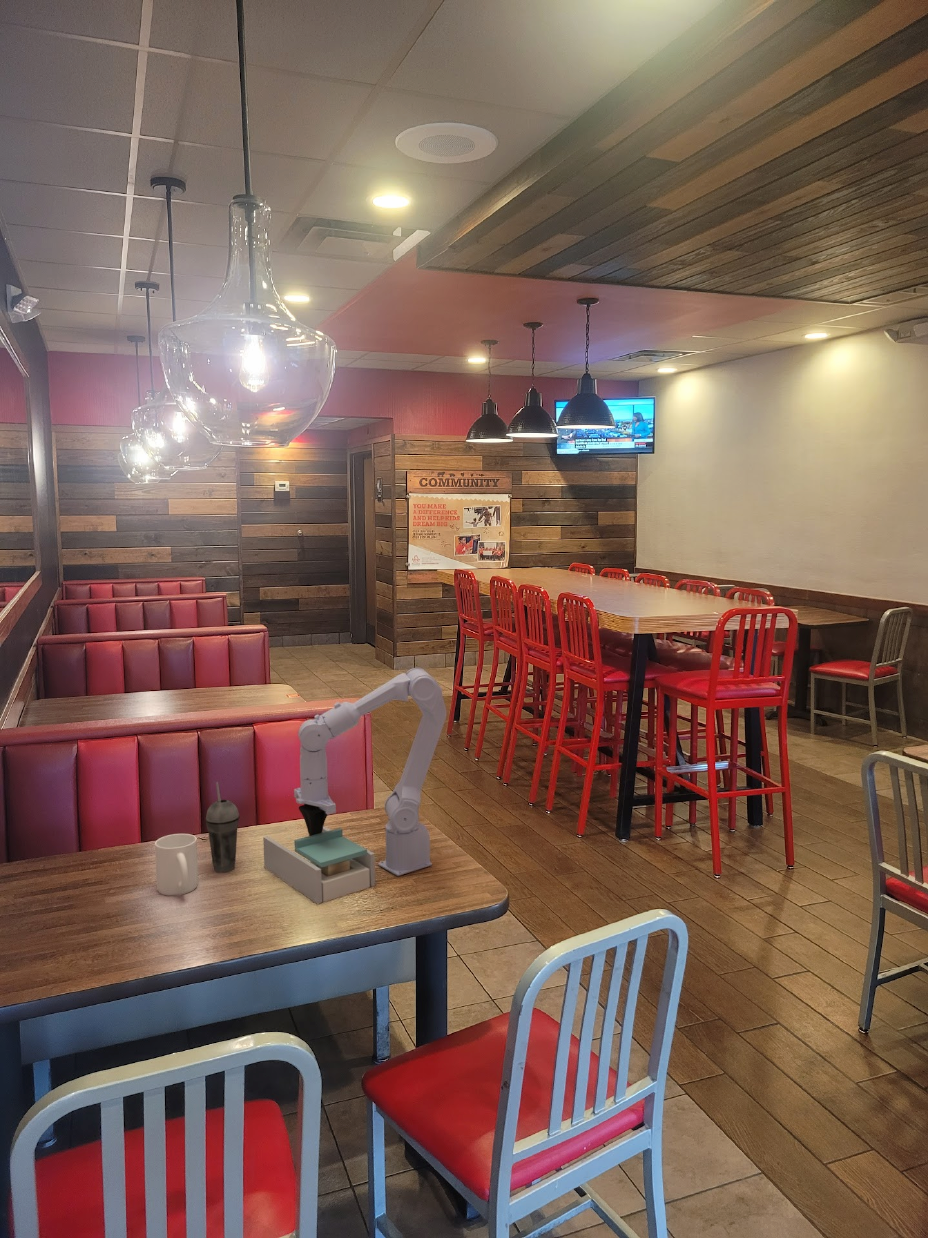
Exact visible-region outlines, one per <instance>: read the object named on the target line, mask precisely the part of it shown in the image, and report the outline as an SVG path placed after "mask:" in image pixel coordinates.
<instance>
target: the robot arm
mask: <svg viewBox="0 0 928 1238" xmlns="http://www.w3.org/2000/svg"><path fill="white" fill-rule="evenodd" d="M409 697H411V699H412V700H413V701H414V702H415V703H416V705H417V707H418V708H419V710H420V712H421V714H422V716H421V718H420V721H419V724H418V727H417V731H416V732H415V737H414V738H413V742H412V745H411V747H410V751H409V753H408V756H407V760H406V762H405V765H404V769H403V771H402V774H401V777H400V780H399V781H398V783H397V784H396V785H395V786H394V788H393V791H392V793H391V794H390V795H389V796H388V797H386V798H387V799H386V800H385V802H384V812H385V813H386V815H387V816H388V818H389V819H388V820H387V822H386V824H385V831H384V832H385V860H383V861H380V862H377V865H378V866H379V867H381V868H383V869H384V870H386V871H387V872H390V873H392V874H393V875H395V876H397V877H400V876H402V875H404V874H409V873H412V872H415V871H418V870H421V869H425V868H428V867H431V866H432V865H433V862H431V850H430V849H431V845H430V844H431V843H430V842H431V839H430V832H429V830H428V827H426V825H425V824H424V823H422V822H420V821H419V820H420V813H419V812H420V811H419V809H420V805H421V802H422V800H421V796H422V794H421V793H422V788H423V785H424V783H425V779H426V777H427V773H428V771H429V768H430V765H431V763H432V759H433V756H434V754H435V751H436V748H437V746H438V743H439V739H440V736H441V733H442V730H443V728H444V725H445V722H446V719H447V714H448V713H447V709H446V708H447V707H446V704H445V700H444V695H443V689H442V687H441V686H440V684H439V683H438V682H437V680H436V679H435V678H434V677H433V676H431V675H430V673H429V672H428V671H426V670H425V669H423V668H421V667H413V668H411V669H409V670H407V671H406V673H405V672H402V673H400V674H397V675H396V676H395V677H393V678H391V679H390V680H388V681H387V682H385V683H383V684H382V685H380V686H379V687H377V688H376V689H374V690H372V691H371V692H369V693H367V694H366V695H365V696H362V697H361V698H360V699H358V700H356V701H355V702H349V701H343V702H340V701H337V702H335V703H334V704H333V706H334V707H333V708H331V709H329V710H326V711H325V712H323V713H321V714H320V715H319V714H316V715H314V718H313V719H307V720H305V721H304V722H303V723H301V725H300V727H299V728H298V732H297V735H298V739H299V741H300V748H299V753H300V755H299V773H300V774H299V777H300V787H297V788H294V790H293V793H294V794H293V797H294V798H295V803H297V804H299V806H298V810H299V812H300V813H301V815H302V817H303V819H304V822H305V825H306V829H307V833H308V836H312V835H315V834H319V833H322V830H323V826H324V825H325V822H326V818H327V817H328V815H331V814H336V813H337V809H336V808H337V806H336V803H335V802H334V801H333V800H332V798H331V797H330V795H329V792H328V791H329V790H328V789H329V787H328V783H329V782H328V756H327V753H326V752H327V751H326V748H327V745H328V742H329V740H333V739H335V738H337V737H338V736H340V735H342V734H344V733H346V732H348V731H349V730H351V729H353V728H354V727H356V726H358V725H359V722H360V719H361V717H362V716H364V715H366V714H368V713H370V712H372V711H374V710H376V709H378V708H380V707H382V706H384V705H387V704H389V703H390V702H392V701H394V700H395V701H401V702H402V701H404V702H409V701H410V698H409Z"/></svg>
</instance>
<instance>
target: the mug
mask: <svg viewBox="0 0 928 1238" xmlns="http://www.w3.org/2000/svg"><path fill="white" fill-rule="evenodd" d="M197 841H198V839H197V837H196V836H195V835H193V834H190V833H173V834H168V835H164V836H162V837H160V838H157V840H156V841H155V842H154V854H155V855H154V856H155V857H154V859H155V860H154V861H155V880H156V890H157V891H158V892H159V894H162V895H164V896H168V897H172V896H173V897H174V896H181V895H186V894H188V893H190V892H193V891H194V890H195V889H197V887H198V884H199V867H198V866H199V865H198V864H199V863H198V842H197Z"/></svg>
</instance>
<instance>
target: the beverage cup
mask: <svg viewBox="0 0 928 1238" xmlns="http://www.w3.org/2000/svg"><path fill="white" fill-rule="evenodd" d="M215 786H216V795H217V800H216V801H214V802H212V804H211V805H210V806H209V807H208V809H207V811H206V816H205V820H204V822H206V823H205V824H206V828H207V831H208V838H209V847H210V854H211V855H210V856H211V861H212V862H211V863H212V867H213V871H214V872H215V873H218V874H225V873H226V874H227V873H230V872H233V871H234V870H235V869H236V860H237V859H236V856H237V839H238V828H239V822H240V820H239V819H240V813H239V809H238V807H237V806H236V804H234V803H233V802H232V801H230V800H229V799H221V793H220V787H219V782H218V781H216V782H215Z"/></svg>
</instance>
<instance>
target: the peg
mask: <svg viewBox="0 0 928 1238" xmlns="http://www.w3.org/2000/svg"><path fill="white" fill-rule="evenodd" d="M317 867H318V868H320V869H321V873H322V874H324V875H325V876H327V877H328V876H331V875H335V874H338V873H341V872H345V871H348V870H350V860H345V861H342V862H339V863H335V864H332V865H328V866H325V867H319V866H318V865H317Z"/></svg>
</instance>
